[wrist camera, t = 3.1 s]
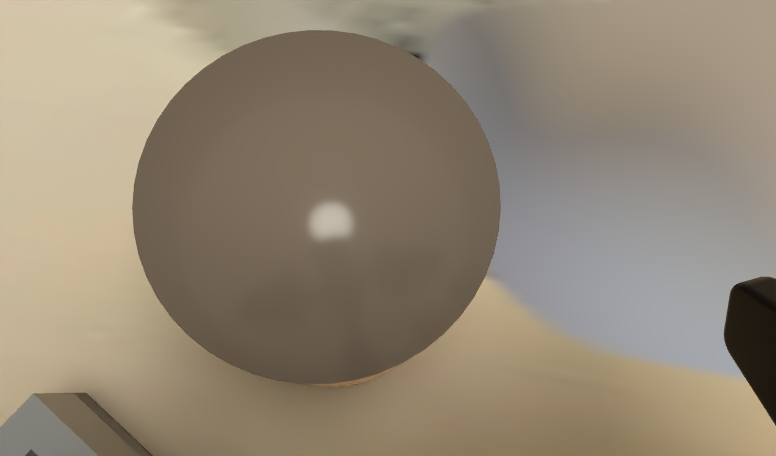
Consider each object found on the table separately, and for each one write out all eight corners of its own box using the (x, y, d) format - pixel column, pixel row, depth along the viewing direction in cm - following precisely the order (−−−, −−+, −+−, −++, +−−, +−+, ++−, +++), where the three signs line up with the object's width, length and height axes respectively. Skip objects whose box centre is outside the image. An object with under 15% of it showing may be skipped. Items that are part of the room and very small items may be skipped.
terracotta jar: (345, 429, 18) (334, 467, 9) (197, 298, 18) (53, 213, 10) (471, 278, 19) (572, 180, 10) (327, 158, 19) (305, -33, 11)
